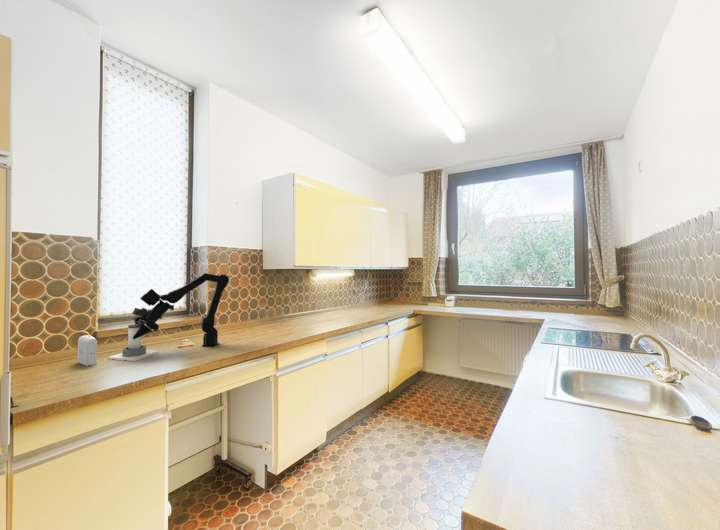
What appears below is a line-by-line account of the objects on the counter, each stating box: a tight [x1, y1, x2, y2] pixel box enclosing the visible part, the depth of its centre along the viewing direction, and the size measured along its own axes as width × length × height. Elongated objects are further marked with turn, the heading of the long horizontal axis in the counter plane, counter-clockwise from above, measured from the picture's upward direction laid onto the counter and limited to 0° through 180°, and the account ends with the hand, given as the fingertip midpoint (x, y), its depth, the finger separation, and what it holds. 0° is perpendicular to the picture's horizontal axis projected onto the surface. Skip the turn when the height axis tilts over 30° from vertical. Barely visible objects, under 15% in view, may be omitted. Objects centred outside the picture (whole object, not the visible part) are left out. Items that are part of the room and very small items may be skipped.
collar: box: [107, 344, 160, 362], centre depth 152 cm, size 14×14×4 cm
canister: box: [127, 323, 142, 350], centre depth 152 cm, size 5×5×12 cm
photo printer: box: [77, 334, 98, 367], centre depth 140 cm, size 10×4×12 cm, turn 60°
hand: (131, 337), depth 151 cm, fingers closed on canister, 5 cm apart
